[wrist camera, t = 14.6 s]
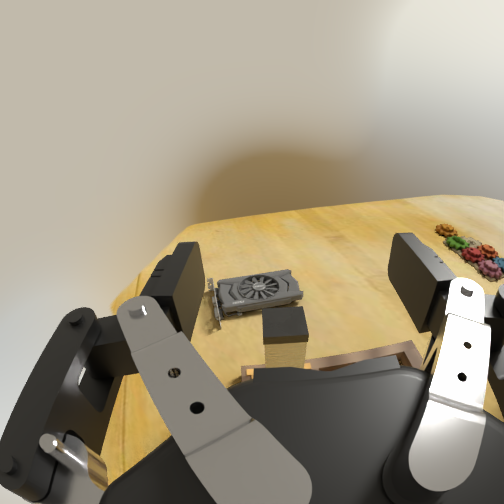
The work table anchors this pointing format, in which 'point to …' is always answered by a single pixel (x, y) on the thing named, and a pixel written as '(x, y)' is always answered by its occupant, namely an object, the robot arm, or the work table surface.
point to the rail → (354, 359)
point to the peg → (284, 337)
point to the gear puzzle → (474, 253)
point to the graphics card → (254, 292)
